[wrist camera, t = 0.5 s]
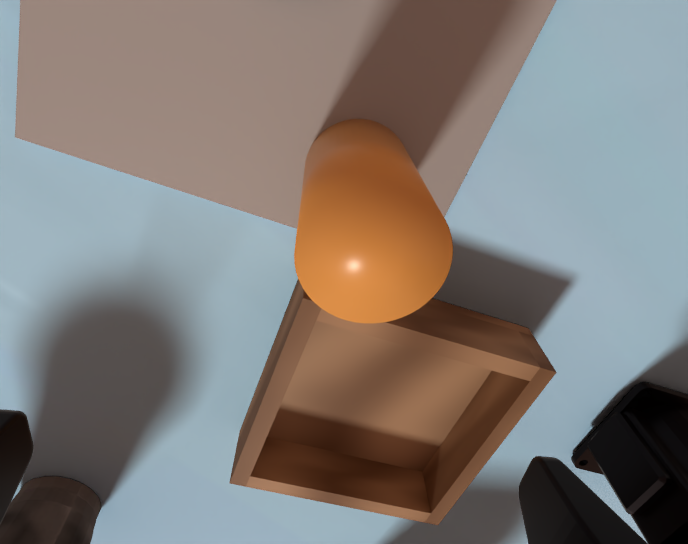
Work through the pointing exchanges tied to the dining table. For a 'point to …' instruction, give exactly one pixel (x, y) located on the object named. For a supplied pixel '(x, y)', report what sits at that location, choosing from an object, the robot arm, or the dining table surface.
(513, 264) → the dining table surface
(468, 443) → the tray
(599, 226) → the dining table surface
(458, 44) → the dial plate
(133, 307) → the dining table surface
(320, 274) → the pin
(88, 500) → the beverage cup
